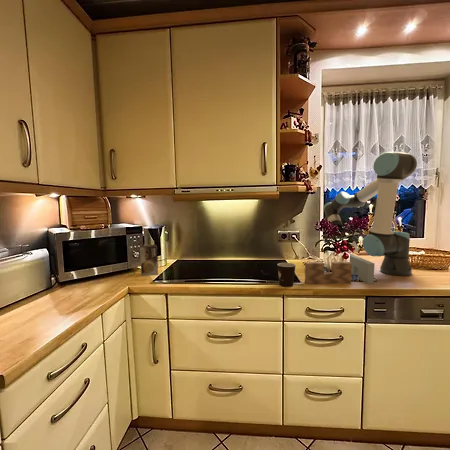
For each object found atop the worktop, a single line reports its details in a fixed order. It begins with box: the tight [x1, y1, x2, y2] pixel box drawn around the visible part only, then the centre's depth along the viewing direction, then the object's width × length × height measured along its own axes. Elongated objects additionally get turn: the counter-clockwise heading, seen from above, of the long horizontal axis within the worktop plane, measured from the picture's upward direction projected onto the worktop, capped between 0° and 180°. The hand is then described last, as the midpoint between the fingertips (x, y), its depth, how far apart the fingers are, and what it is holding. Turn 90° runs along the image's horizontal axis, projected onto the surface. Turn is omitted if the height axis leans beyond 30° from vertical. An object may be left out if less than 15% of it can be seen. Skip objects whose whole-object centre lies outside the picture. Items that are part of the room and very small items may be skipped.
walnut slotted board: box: [304, 261, 352, 285], centre depth 143 cm, size 22×3×10 cm, turn 92°
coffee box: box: [139, 244, 159, 277], centre depth 162 cm, size 9×6×16 cm
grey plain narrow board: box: [349, 253, 375, 285], centre depth 152 cm, size 24×3×10 cm, turn 2°
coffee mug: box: [277, 262, 296, 288], centre depth 141 cm, size 12×9×10 cm
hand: (345, 251), depth 167 cm, fingers open, 13 cm apart
